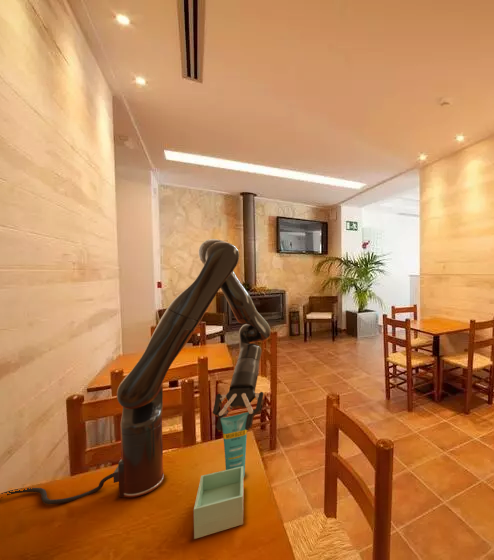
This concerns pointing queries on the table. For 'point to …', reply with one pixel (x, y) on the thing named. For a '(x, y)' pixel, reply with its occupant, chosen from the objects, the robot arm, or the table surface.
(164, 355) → the robot arm
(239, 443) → the tube
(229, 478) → the open pale green box
